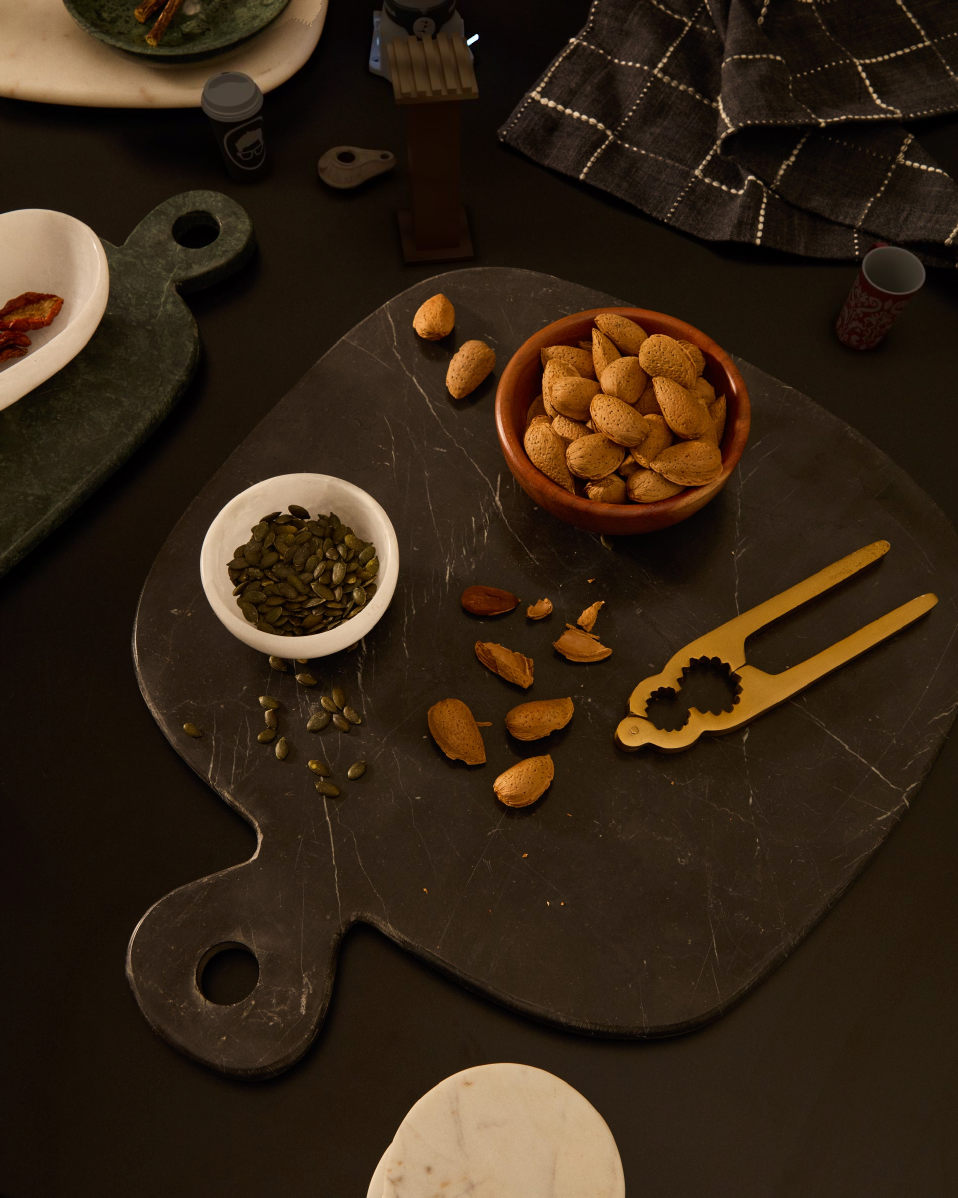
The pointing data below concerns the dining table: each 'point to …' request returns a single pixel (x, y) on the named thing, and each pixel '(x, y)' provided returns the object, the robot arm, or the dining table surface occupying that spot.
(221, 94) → the coffee cup
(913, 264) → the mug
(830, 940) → the dining table surface
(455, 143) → the stand
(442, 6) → the robot arm
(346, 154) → the pottery oil lamp
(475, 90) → the wooden slatted trivet
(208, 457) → the dining table surface
